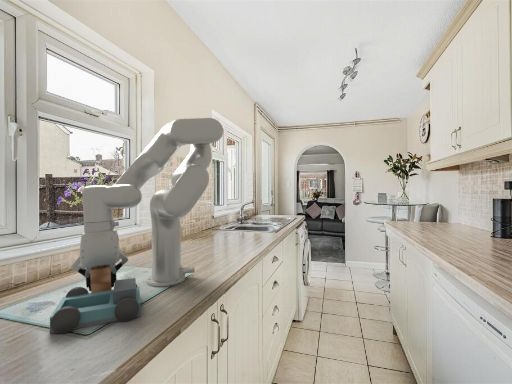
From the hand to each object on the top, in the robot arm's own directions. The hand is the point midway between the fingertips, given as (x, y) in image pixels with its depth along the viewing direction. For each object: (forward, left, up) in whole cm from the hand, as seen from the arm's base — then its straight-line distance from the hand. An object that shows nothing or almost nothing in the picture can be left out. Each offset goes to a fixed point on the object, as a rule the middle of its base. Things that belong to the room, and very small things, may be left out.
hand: (102, 286), depth 79 cm
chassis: (-1, +14, -2) cm, 14 cm away
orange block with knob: (0, 0, -1) cm, 1 cm away
